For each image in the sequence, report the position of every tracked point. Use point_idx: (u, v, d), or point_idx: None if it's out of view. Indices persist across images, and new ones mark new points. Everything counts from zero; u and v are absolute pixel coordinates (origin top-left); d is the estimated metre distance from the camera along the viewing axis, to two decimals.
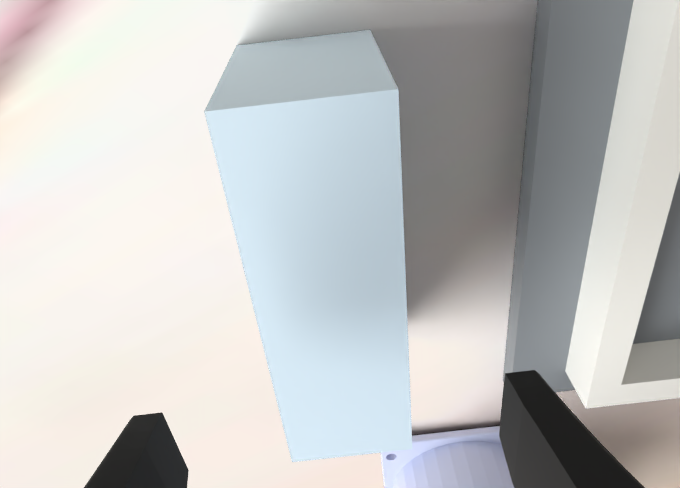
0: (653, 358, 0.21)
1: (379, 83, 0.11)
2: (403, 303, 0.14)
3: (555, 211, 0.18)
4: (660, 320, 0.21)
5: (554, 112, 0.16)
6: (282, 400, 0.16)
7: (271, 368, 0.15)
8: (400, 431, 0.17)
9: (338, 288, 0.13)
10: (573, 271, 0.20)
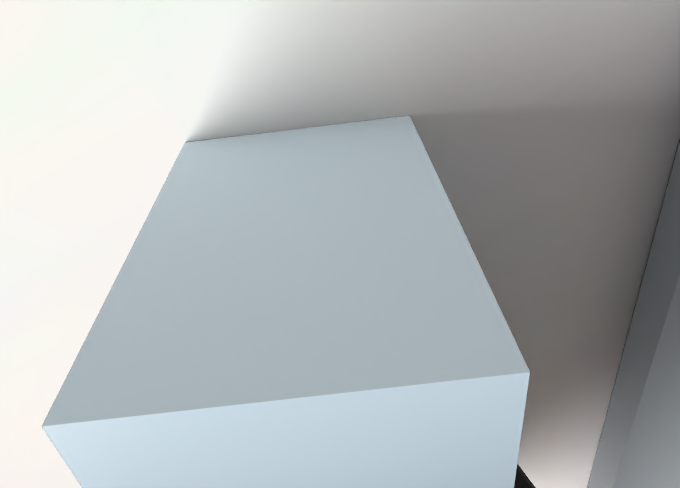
0: None
1: (471, 328, 0.05)
2: None
3: None
4: None
5: None
6: None
7: None
8: None
9: None
10: None
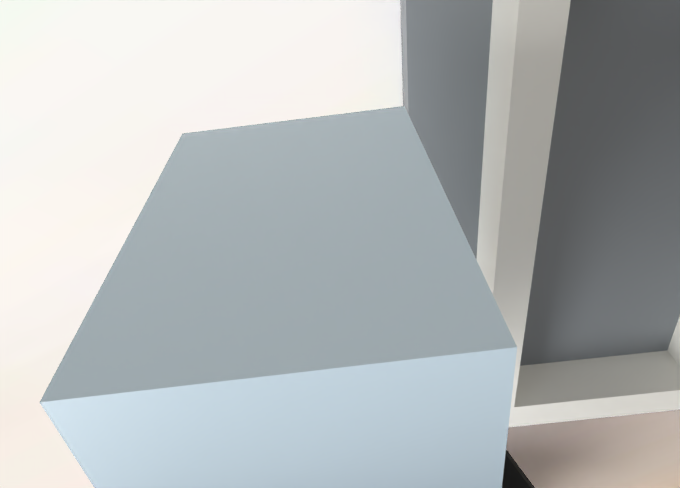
0: (551, 379, 0.21)
1: (461, 306, 0.05)
2: None
3: None
4: (559, 341, 0.21)
5: (423, 133, 0.16)
6: None
7: None
8: None
9: None
10: None
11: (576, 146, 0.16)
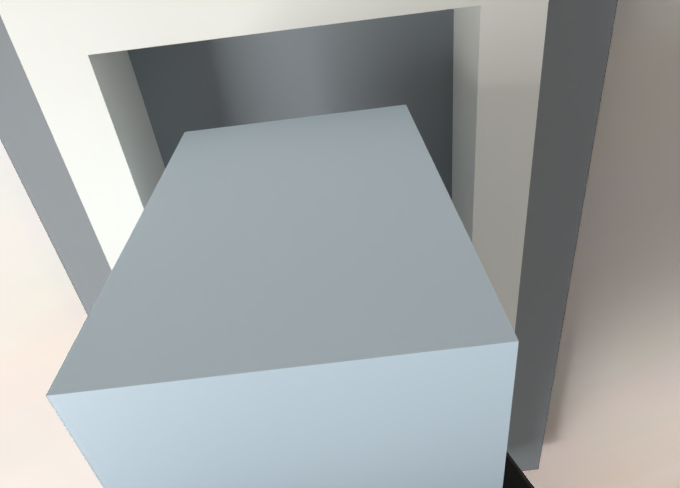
0: None
1: (463, 302, 0.05)
2: None
3: None
4: None
5: (62, 226, 0.13)
6: None
7: None
8: None
9: None
10: None
11: None
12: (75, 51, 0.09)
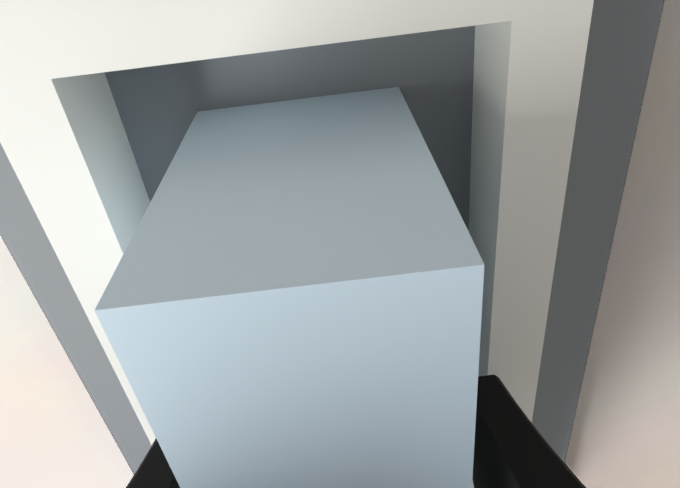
0: None
1: (440, 238, 0.06)
2: None
3: (109, 366, 0.14)
4: None
5: (35, 260, 0.12)
6: None
7: None
8: None
9: None
10: None
11: None
12: (36, 74, 0.08)
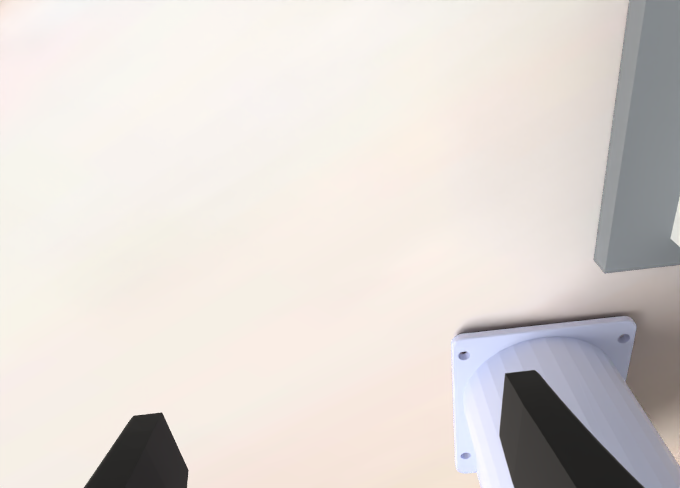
0: None
1: None
2: None
3: (674, 11, 0.16)
4: None
5: None
6: None
7: None
8: None
9: None
10: None
11: None
12: None
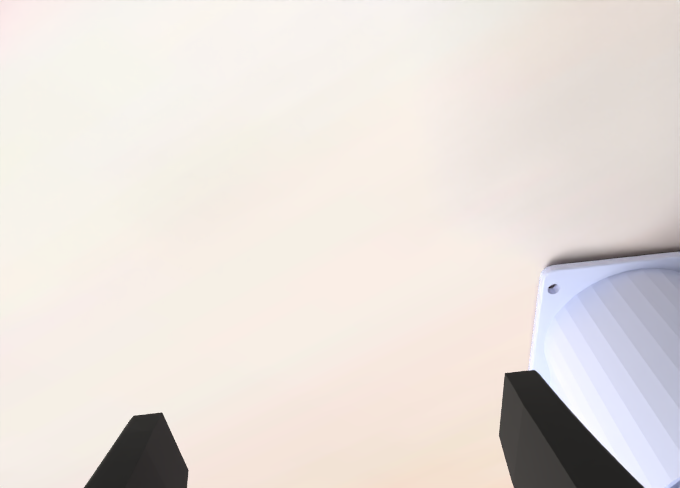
0: None
1: None
2: None
3: None
4: None
5: None
6: None
7: None
8: None
9: None
10: None
11: None
12: None
